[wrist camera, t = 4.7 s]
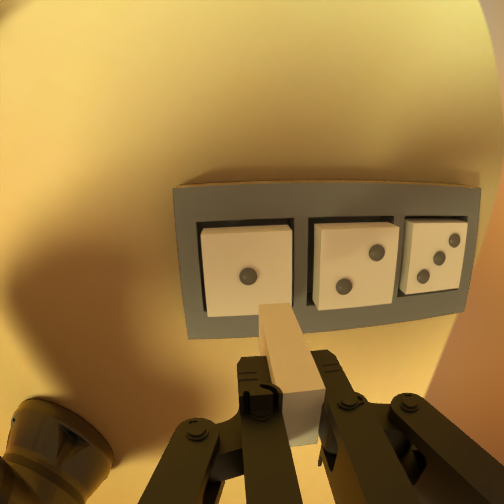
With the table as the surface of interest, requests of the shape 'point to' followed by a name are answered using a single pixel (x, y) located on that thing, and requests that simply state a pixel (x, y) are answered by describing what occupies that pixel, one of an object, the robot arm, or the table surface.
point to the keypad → (302, 225)
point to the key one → (246, 268)
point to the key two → (354, 264)
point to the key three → (432, 254)
